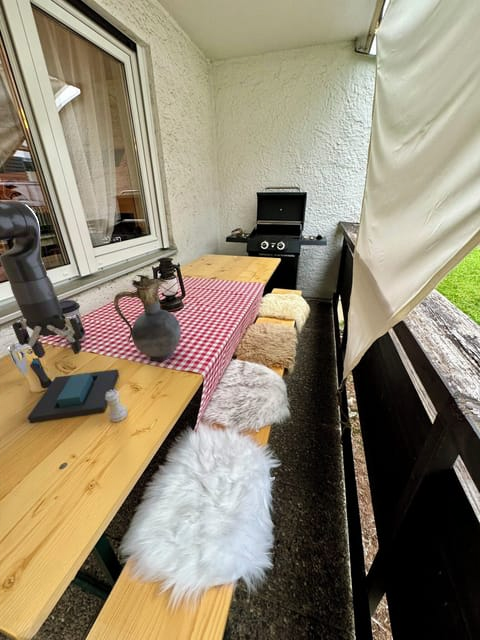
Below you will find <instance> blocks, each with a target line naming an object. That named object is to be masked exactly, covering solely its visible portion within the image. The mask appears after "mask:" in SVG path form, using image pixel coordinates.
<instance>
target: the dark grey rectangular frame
mask: <svg viewBox="0 0 480 640" xmlns="http://www.w3.org/2000/svg"><path fill="white" fill-rule="evenodd" d="M87 373H88V372H86V373H83V374H87ZM90 373H91V374H92V377H93V380H94V382H95V383H94V385H93V387H92V389H91V391H90V393H89V395H88V398H87V400H86V402H85V404H84V405H78V406H70V407H63V408H60V406H59V404H58V402H57V399H58V397H59V395H60V394H61V392H62V390H63V389H64V387H65V385H66V384H67V382H68V380H69V379H70V377H71V376H72V375H73V374H70V375H68V374H67V375H61V376H55V377H54V378H53V379H54V380H53V382H52V383H51V384H50V386H49V387H48V389H47V390H45V391H44V393H43V395H42V396H41V398H40V399H39V400H38V402H37V403H36V405H35V406H34V407H33V409H32V410H31V412H30V413H29V415H28V416H27V420H28V421H29V423H30V424H35V423H43V422H48V421H56V420H63V419H69V418H76V417H83V416H90V415H96V414H103V413H105V412H106V410H107V408H108V405H109V404H108V401H107V400H106V399H105V396H106V394H107V392H110V390H112V391H113V390H115V389H114V388H115V387H116V386H115V385H116V383H117V381H118V377H119V375H120V373H119V370H118V369H109V370H101V371H93V372H90ZM80 374H81V373H77V374H75V375H80Z"/></svg>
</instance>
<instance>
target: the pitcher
mask: <svg viewBox="0 0 480 640" xmlns="http://www.w3.org/2000/svg"><path fill="white" fill-rule="evenodd" d="M135 276H136V277H139V280H138V281H137V280H135V279H132V280H131V285H132V287H134V288H135V289H136V291H127V290H125V291H124V290H123V291H120V292H118V293H116V295H115V296H114V299H113V304H114V305H113V306H114V310H115V311H116V313H117V314H118V316H119V317H120V319H121V320H123V321H124V323H126V325H127V326H128V328H129V332H130V333H129V336H128V339H127V343H129V342H130V340H131V339H132V342H133V345H134V346H135V348H136V349H137V350H138V351H139V352H140V353H141V354H142V355H145V356H149V358H150V359H151V360H152V361H155V362H162V361H166V360H168V359H170V358H172V356H173V355H174V350H176V349H177V347H178V346H179V344H180V341H181V337H182V329H181V328H182V327H181V324H180V322H179V320H178V318H177V317H176V315H174V314H173V313H172V312H170V311H167V310H166V309H161V304H160V296H159V295H160V294H159V289H160V287H161V286H162V285H163V284H165V285H166V284H169V281H167V280H166V279H163V278H161V277H154V278H151V276H150V275H149V274H145V275H143V274H135ZM125 297H127V298H137V299H139V300H140V302H141V304H142V305H143V310H144V311H143V313H140V315H139V316H138V317H137V318H136V319H135V320H134V322H133V325H131V323H130V322H129V321H128V319H127V318H126V317H125V316H124V314H123V313H122V310H121V309H120V306H119V300H120V299H122V298H125ZM131 337H132V338H131Z"/></svg>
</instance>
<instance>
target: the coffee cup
mask: <svg viewBox="0 0 480 640" xmlns="http://www.w3.org/2000/svg"><path fill="white" fill-rule="evenodd" d="M59 303H60V306H61V309H62V313H63V315H64V316H65V317H71V316H73V315H74V314H77V315H78V316H79V318H80V321H81V323H82V325H83V326H84V323H83V318H82V313H81V311H80V307H81V305H80V303H79V302H77V301H76V300H74V299H67V300H61V301H59ZM66 325H68V326H69V327H71V328H72V325H71V326H70V325H69V323H67V322H66ZM72 330H73V328H72ZM62 331H63V332H65V330H64V329H63V330H62ZM73 331H74V330H73ZM85 338H86V334H85V335H84V336H83V338H82V339H79V340H80V341H82V340H84V339H85ZM67 341H68V342H69V343H71V341H69V340H68V339H67Z"/></svg>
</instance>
